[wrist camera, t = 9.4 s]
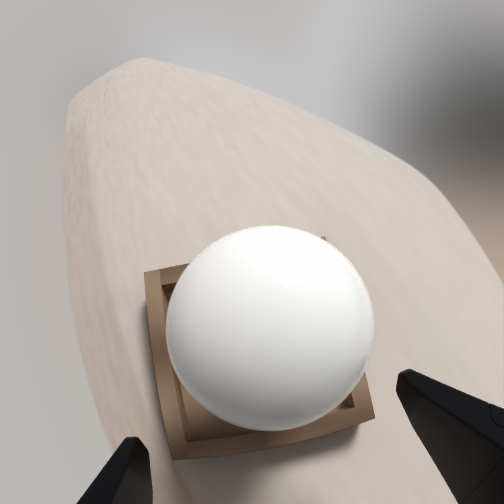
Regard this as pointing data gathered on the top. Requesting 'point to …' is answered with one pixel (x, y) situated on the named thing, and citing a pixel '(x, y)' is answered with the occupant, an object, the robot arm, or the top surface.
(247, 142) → the top surface
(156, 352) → the walnut tray
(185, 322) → the lightbulb
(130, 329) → the top surface
